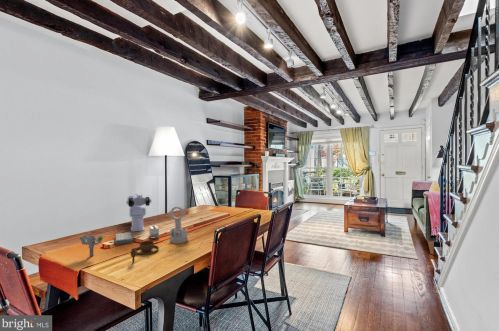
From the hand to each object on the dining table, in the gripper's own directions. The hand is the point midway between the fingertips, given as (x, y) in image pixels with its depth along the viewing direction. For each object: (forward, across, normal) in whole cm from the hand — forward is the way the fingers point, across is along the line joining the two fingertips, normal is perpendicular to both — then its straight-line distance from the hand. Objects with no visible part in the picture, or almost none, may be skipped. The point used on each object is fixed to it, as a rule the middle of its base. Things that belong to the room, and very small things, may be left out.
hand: (140, 202), depth 155 cm
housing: (-1, +8, +22) cm, 23 cm away
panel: (-1, -9, +22) cm, 23 cm away
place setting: (+25, -2, +24) cm, 35 cm away
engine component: (+12, +20, +23) cm, 33 cm away
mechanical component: (+19, -24, +23) cm, 39 cm away
